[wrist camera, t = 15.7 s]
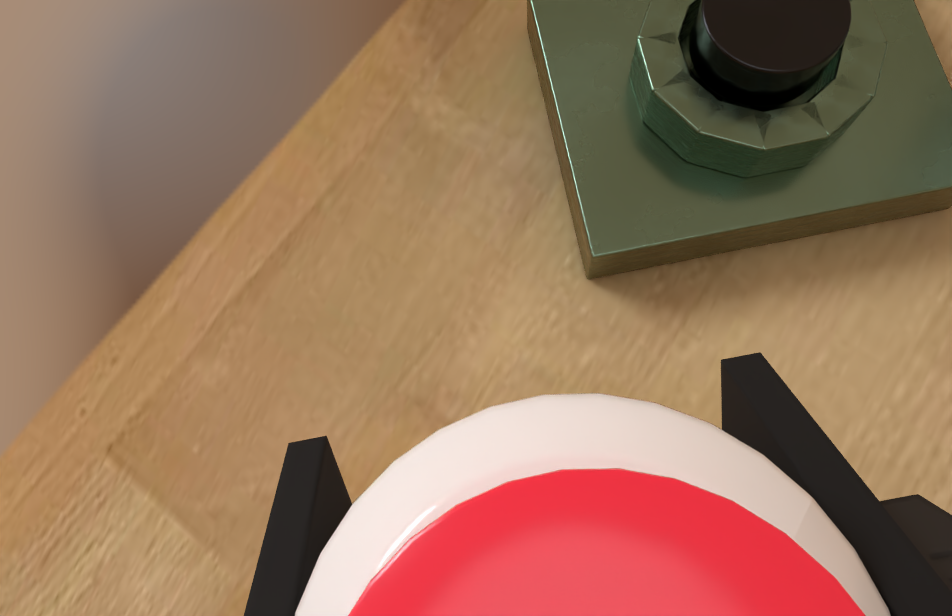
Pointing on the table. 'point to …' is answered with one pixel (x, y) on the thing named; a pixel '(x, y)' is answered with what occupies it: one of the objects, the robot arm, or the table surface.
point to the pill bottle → (586, 523)
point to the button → (766, 46)
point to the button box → (734, 134)
